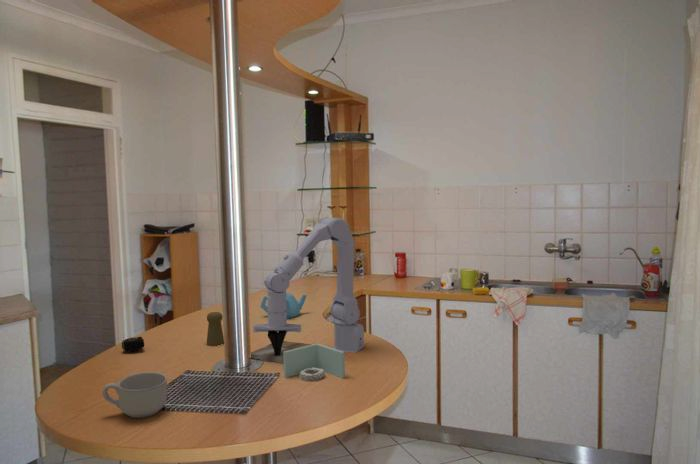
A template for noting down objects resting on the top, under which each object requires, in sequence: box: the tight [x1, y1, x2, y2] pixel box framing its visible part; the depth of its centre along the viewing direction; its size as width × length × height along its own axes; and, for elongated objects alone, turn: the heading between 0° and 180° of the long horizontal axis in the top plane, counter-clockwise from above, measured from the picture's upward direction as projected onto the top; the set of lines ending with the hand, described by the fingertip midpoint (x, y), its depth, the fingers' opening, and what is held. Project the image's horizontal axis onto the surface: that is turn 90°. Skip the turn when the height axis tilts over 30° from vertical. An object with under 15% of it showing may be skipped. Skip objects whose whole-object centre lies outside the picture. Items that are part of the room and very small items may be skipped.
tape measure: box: [121, 336, 145, 353], centre depth 170 cm, size 7×7×4 cm
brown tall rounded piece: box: [206, 311, 225, 347], centre depth 177 cm, size 6×6×11 cm
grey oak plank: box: [250, 345, 293, 364], centre depth 161 cm, size 18×10×2 cm, turn 66°
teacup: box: [102, 371, 168, 419], centre depth 120 cm, size 14×11×8 cm
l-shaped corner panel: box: [283, 342, 346, 382], centre depth 142 cm, size 12×12×8 cm
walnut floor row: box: [266, 340, 314, 349], centre depth 169 cm, size 18×7×2 cm, turn 66°
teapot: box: [260, 292, 308, 319], centre depth 220 cm, size 15×15×11 cm
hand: (277, 354), depth 159 cm, fingers closed, pressing on grey oak plank
